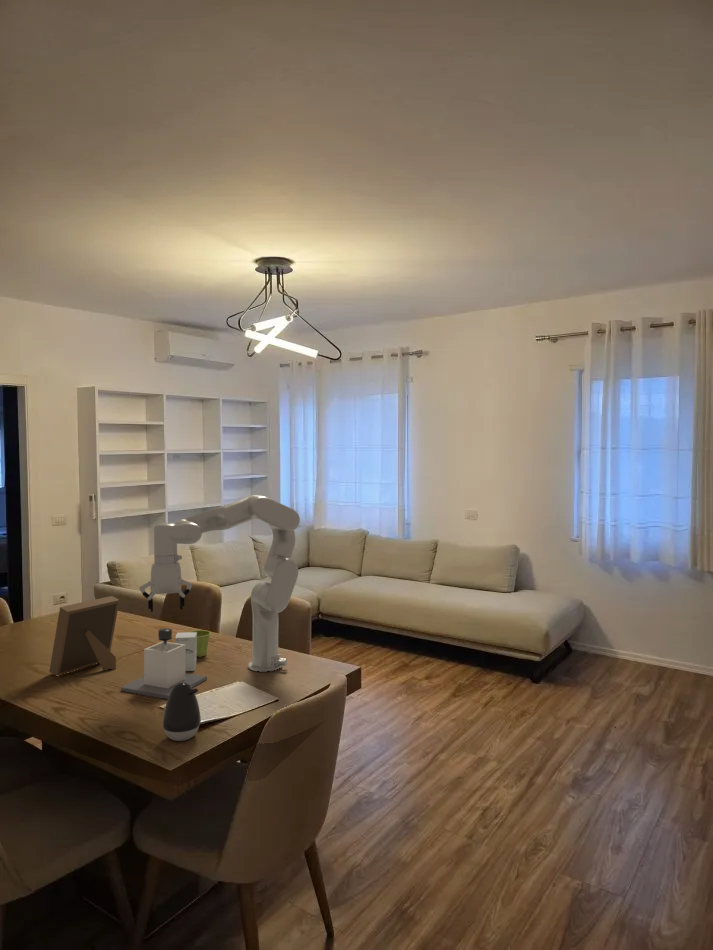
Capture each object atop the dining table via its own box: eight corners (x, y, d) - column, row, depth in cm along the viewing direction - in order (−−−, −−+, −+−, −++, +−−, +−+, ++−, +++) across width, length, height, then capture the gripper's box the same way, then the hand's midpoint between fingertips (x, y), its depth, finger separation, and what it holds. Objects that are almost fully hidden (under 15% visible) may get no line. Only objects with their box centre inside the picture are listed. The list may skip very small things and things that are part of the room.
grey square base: (206, 679, 221) (207, 642, 220) (170, 699, 202) (170, 658, 202) (160, 672, 228) (160, 635, 227) (120, 690, 209) (120, 651, 209)
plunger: (179, 678, 217) (180, 628, 216) (166, 685, 210) (167, 633, 210) (163, 676, 219) (163, 626, 219) (149, 682, 213) (150, 631, 212)
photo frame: (49, 674, 223) (50, 604, 223) (101, 658, 242) (102, 594, 242) (76, 683, 216) (76, 610, 215) (127, 665, 235) (128, 599, 234)
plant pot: (196, 660, 241) (196, 638, 241) (181, 655, 247) (181, 633, 247) (215, 654, 249) (215, 632, 249) (200, 650, 254) (200, 628, 254)
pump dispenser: (184, 748, 168) (184, 692, 168) (154, 740, 173) (154, 685, 172) (208, 733, 178) (209, 680, 177) (179, 726, 182) (180, 674, 182)
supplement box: (174, 672, 228) (174, 637, 228) (176, 665, 235) (176, 632, 235) (195, 671, 229) (195, 637, 229) (196, 664, 236) (197, 631, 236)
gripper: (191, 556, 220) (191, 605, 221) (138, 559, 215) (139, 609, 215) (192, 560, 213) (193, 610, 214) (138, 563, 207) (139, 614, 208)
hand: (166, 609), depth 214 cm, fingers open, 9 cm apart
